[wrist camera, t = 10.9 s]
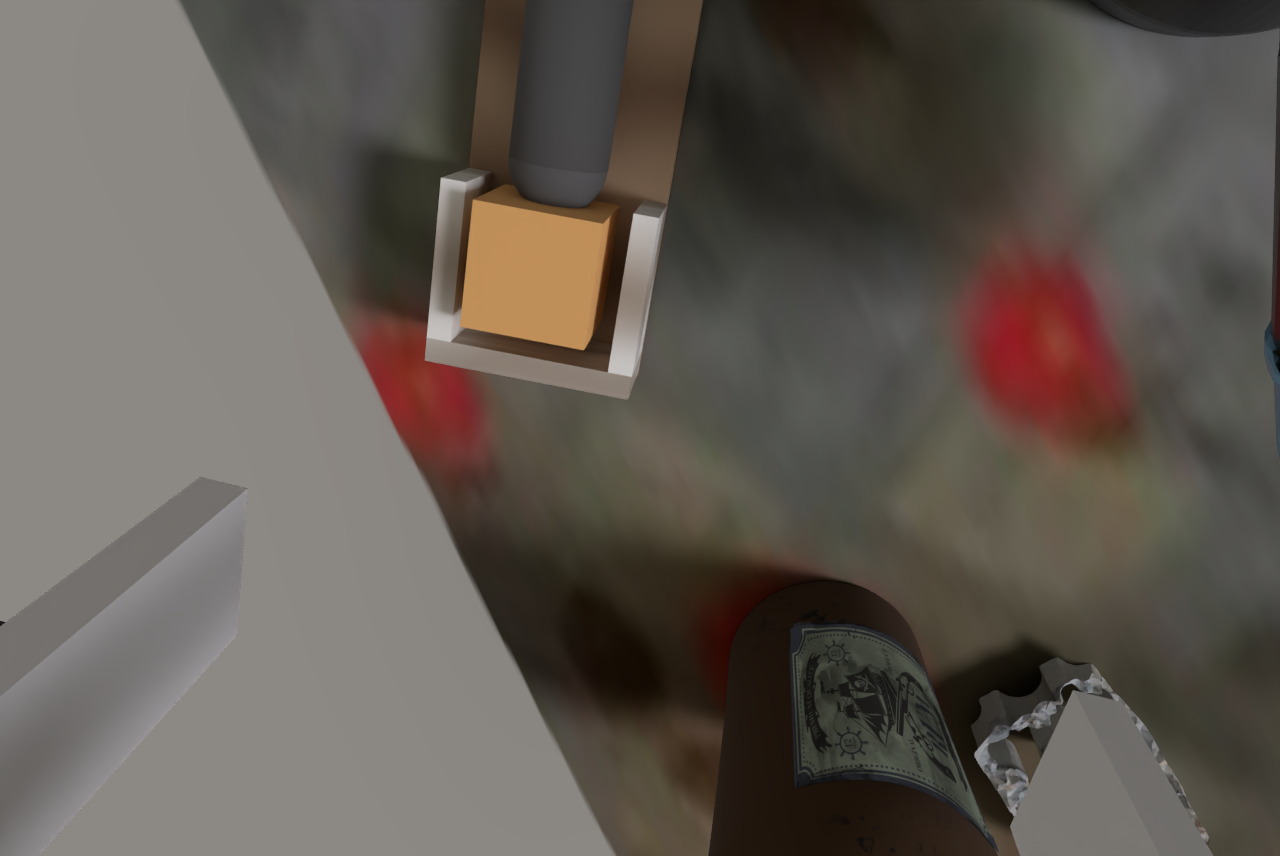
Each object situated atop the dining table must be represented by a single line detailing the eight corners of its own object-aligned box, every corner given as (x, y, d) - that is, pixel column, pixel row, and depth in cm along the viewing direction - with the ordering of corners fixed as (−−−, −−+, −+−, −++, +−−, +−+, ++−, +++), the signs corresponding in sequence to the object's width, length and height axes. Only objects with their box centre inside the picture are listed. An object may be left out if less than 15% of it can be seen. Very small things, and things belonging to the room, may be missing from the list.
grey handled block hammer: (560, -306, 35) (530, -367, 30) (696, -284, 35) (688, -341, 30) (492, 297, 43) (459, 326, 38) (602, 318, 43) (583, 350, 38)
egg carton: (1185, 788, 49) (1222, 849, 45) (1047, 844, 51) (1072, 908, 47) (1089, 634, 46) (1120, 686, 43) (948, 701, 49) (966, 756, 45)
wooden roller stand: (523, -343, 35) (480, -422, 29) (756, -305, 35) (758, -377, 29) (455, 338, 44) (413, 377, 39) (638, 373, 44) (622, 418, 38)
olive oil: (882, 773, 50) (997, 1382, 27) (689, 710, 50) (638, 1267, 27) (967, 608, 46) (1188, 1151, 23) (759, 538, 46) (770, 1015, 23)
